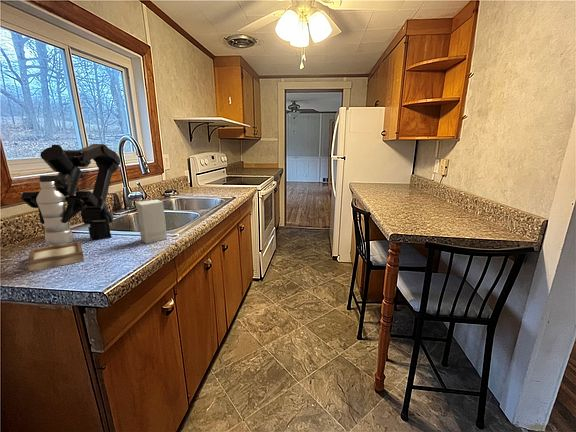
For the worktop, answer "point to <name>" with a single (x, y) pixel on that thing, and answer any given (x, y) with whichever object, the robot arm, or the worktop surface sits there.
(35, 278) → the worktop surface
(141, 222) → the skincare box
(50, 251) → the stand
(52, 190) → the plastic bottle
